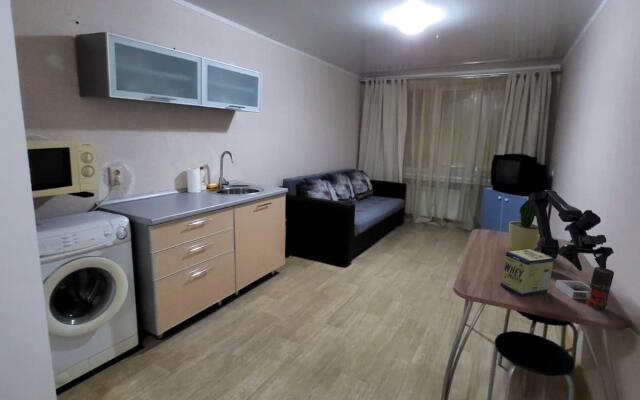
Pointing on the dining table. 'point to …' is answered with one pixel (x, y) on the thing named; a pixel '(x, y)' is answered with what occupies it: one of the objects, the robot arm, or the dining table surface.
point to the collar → (570, 285)
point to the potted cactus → (523, 229)
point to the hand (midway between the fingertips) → (592, 271)
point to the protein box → (527, 272)
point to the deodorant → (599, 288)
